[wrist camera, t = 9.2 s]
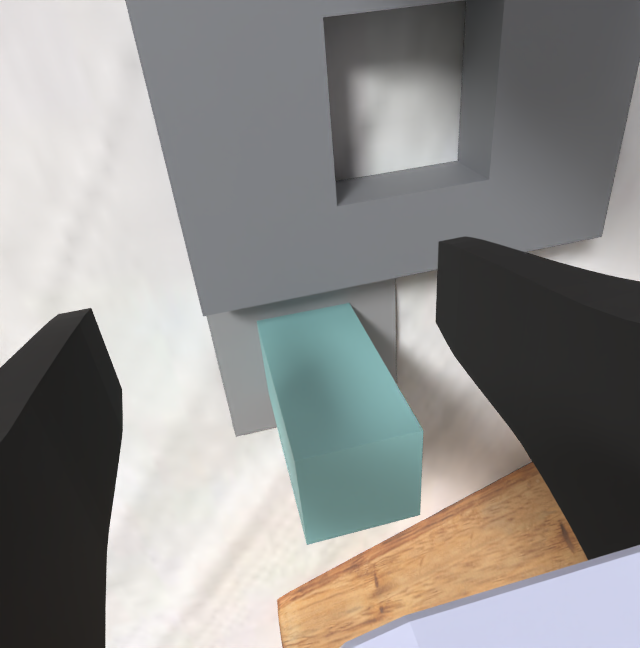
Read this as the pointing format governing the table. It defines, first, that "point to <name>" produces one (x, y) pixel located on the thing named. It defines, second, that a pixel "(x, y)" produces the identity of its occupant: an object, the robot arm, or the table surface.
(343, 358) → the teal block
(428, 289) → the table surface
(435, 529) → the wooden box
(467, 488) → the table surface
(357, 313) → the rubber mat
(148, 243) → the table surface
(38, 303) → the table surface
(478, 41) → the pocket board
